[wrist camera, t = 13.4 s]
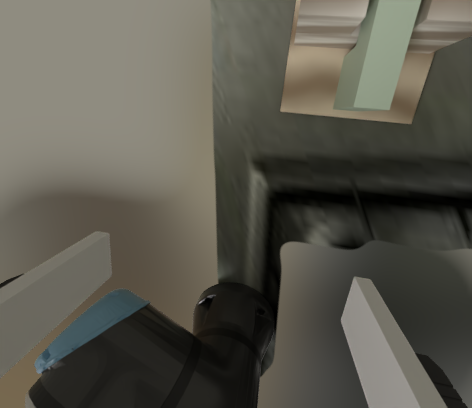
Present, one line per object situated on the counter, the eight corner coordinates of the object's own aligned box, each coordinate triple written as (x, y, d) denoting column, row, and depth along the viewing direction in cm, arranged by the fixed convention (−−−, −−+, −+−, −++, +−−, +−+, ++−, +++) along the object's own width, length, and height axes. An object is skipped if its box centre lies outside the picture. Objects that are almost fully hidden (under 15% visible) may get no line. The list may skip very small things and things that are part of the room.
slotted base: (405, 123, 32) (467, 128, 21) (280, 111, 34) (278, 110, 23) (464, -61, 25) (596, -189, 15) (305, -61, 27) (319, -173, 17)
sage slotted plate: (367, -56, 26) (415, -153, 16) (398, -56, 25) (466, -156, 16) (332, 109, 31) (353, 107, 22) (357, 111, 31) (389, 110, 22)
